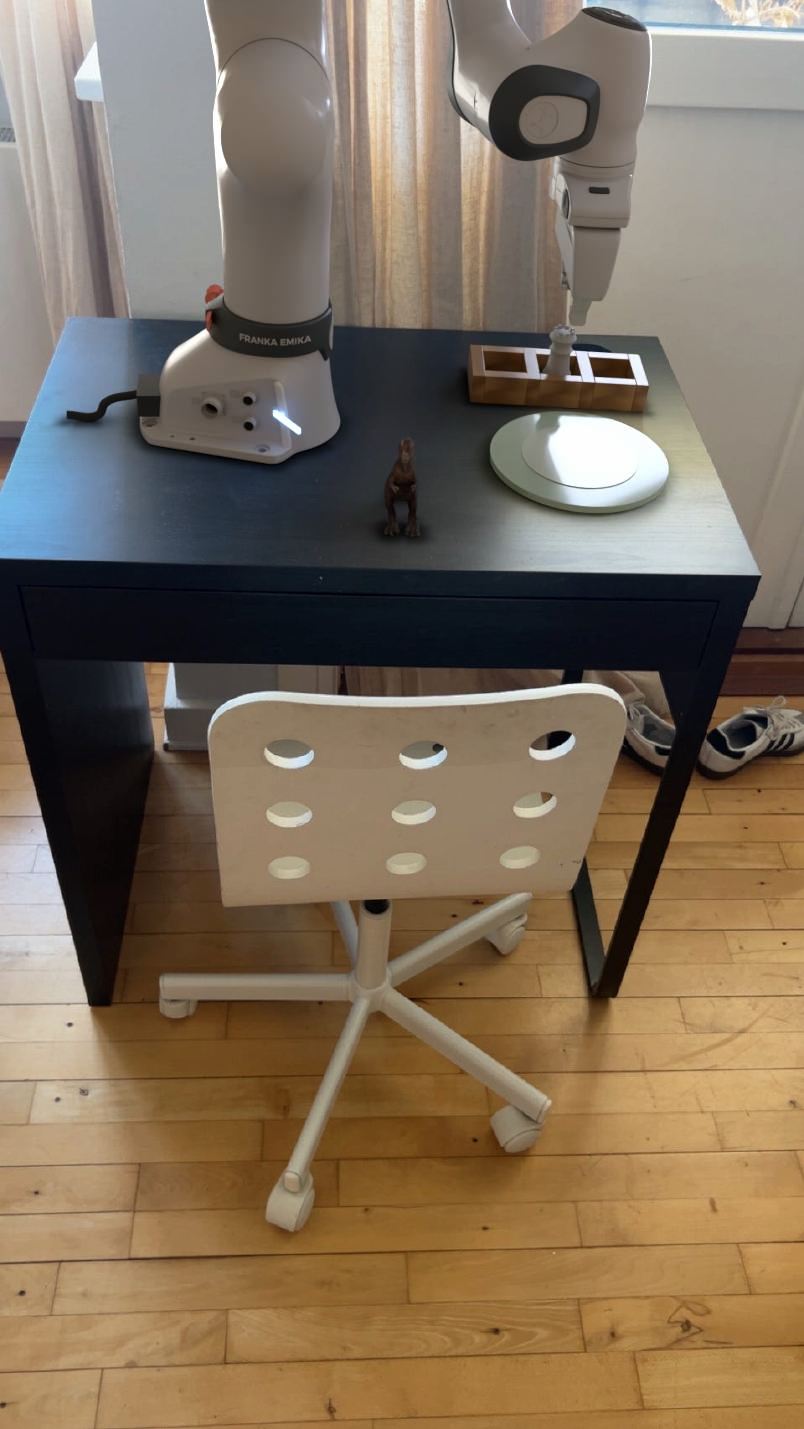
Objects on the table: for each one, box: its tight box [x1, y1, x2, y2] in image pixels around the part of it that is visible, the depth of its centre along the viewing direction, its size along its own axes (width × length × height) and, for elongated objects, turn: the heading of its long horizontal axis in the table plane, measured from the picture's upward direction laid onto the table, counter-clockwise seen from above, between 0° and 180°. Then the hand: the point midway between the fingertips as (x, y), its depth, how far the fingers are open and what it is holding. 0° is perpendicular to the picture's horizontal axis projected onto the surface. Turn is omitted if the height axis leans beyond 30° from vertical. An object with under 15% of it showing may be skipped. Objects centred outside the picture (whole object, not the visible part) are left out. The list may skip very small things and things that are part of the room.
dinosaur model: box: [383, 437, 421, 538], centre depth 117 cm, size 4×12×15 cm
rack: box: [466, 344, 650, 413], centre depth 141 cm, size 21×8×4 cm, turn 91°
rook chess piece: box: [541, 323, 578, 375], centre depth 140 cm, size 4×4×8 cm
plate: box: [488, 410, 670, 514], centre depth 130 cm, size 20×20×1 cm
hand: (571, 305), depth 135 cm, fingers open, 8 cm apart
